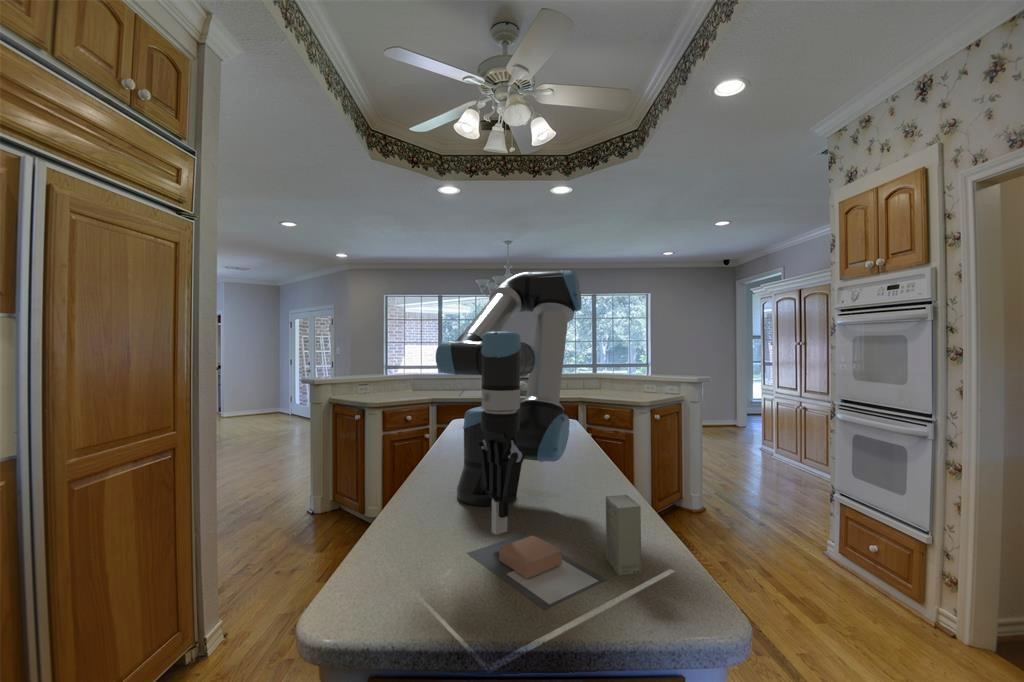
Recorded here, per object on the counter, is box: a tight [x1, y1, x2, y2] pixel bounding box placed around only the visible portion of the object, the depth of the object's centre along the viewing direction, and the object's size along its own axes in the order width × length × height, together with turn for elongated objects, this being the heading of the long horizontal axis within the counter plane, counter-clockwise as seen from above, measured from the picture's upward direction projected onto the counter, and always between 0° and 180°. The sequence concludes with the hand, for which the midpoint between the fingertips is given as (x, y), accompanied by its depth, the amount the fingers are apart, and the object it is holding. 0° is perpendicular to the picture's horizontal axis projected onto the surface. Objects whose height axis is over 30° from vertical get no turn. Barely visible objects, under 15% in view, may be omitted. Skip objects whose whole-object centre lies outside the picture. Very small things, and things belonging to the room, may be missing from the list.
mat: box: [466, 533, 608, 611], centre depth 81 cm, size 22×14×1 cm, turn 37°
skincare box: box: [605, 494, 643, 576], centre depth 81 cm, size 6×4×12 cm
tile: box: [499, 535, 563, 579], centre depth 81 cm, size 3×8×8 cm
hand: (499, 531), depth 88 cm, fingers closed
